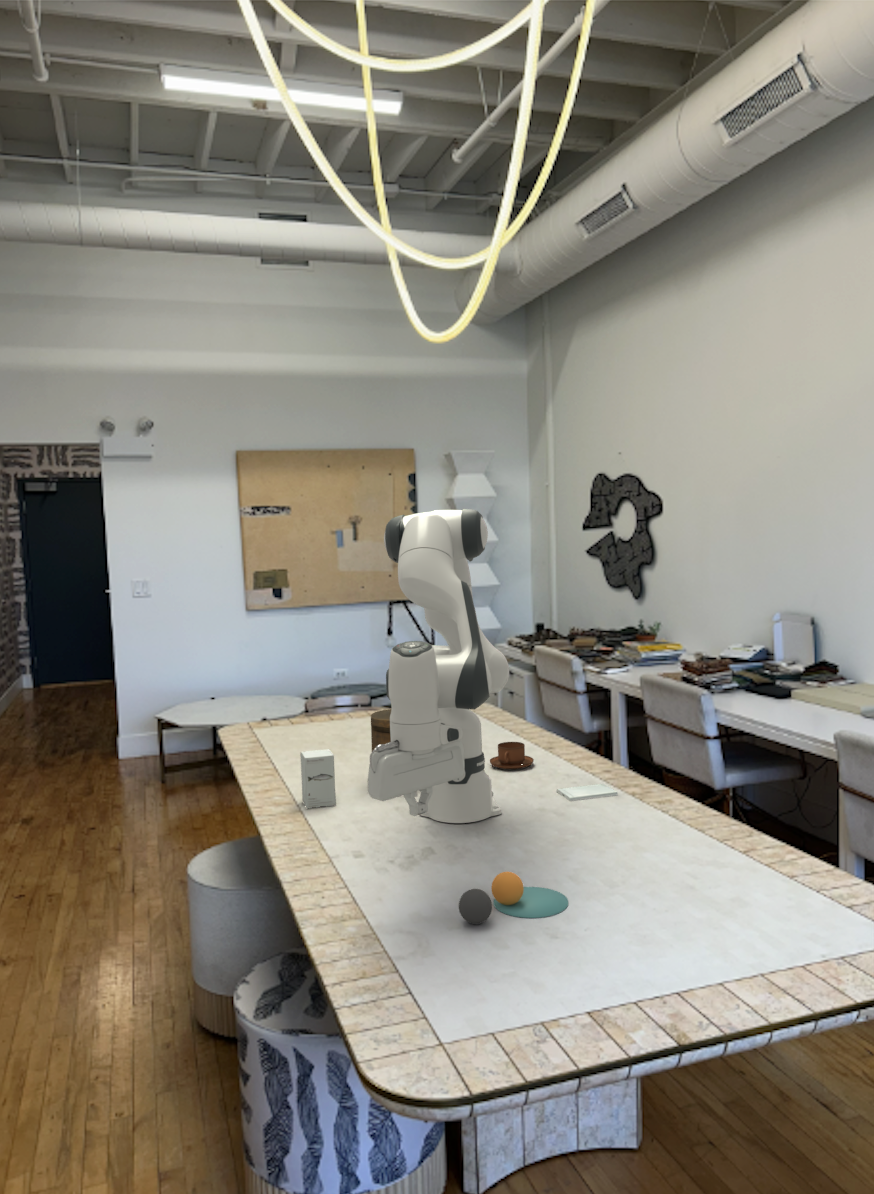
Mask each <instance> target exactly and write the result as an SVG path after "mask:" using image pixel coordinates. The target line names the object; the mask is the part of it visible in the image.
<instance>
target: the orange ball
mask: <svg viewBox="0 0 874 1194" xmlns="http://www.w3.org/2000/svg"><path fill="white" fill-rule="evenodd" d="M524 887H525V886H524V883H523V881H522V879H521V877H520V876H519V875H518V874H516V873H515V872H512V871H503V872H500V873H498V874H497V875H496V876H494V878H493V880H492V882H491V893H492V896H493V899H496V900H497V901H498V902H499V903H501V904H503V905H512V904H515V903H517V902H518V901H519V900H520V899H521V897H522V895H523V891H524Z"/></svg>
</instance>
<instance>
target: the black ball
mask: <svg viewBox="0 0 874 1194" xmlns="http://www.w3.org/2000/svg"><path fill="white" fill-rule="evenodd" d="M492 911H493V902H492V898H491V896H489V894H488V893H487V892H486V891H484V889H480V888H470V889H468V890H466V891H465V892H463V894H462V895H461V897H460V898H459V901H458V912H459V914H460V916H461V918H462V919H463V920H464V921H466V922H467V923H469V924H471V925H472V924H473V925H480V924H483V923H484V922H486V921H487V920H488V919H489V917H490V916H491V914H492Z"/></svg>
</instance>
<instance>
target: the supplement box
mask: <svg viewBox="0 0 874 1194" xmlns="http://www.w3.org/2000/svg"><path fill="white" fill-rule="evenodd" d="M299 753H300V755H299V756H300V774H301V775H300V776H301V777H300V778H301V794H302V795H301V796H302V802H304V803H303V804H305V805H304V806H306V807H305V809H306V808H309V809H313V808H312V807H316V808H321V807H320V806H326V807H334V806H333V805H335V806H337V801H336V800H337V798H336V797H337V795H336V782H335V781H336V778H335V777H336V776H335V775H336V774H335V755H334V753H333V752H332V751H331V749H329V748H327V749H315V750H303V751H300V752H299Z"/></svg>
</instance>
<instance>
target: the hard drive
mask: <svg viewBox="0 0 874 1194" xmlns="http://www.w3.org/2000/svg"><path fill="white" fill-rule="evenodd" d="M556 793H557V794H559V795H560V796H561V797H563V798H564V799H566V800H567V801H569V802H574V801H584V800H590V799H591V800H592V799H600V798H607V797H615V796H616V797H617V796H618V791H617V790H615V789H613V787H611V786H609V785H607V784H605V783H599V784H598V783H596V784H589V785H578V786H571V787H563V788H556Z"/></svg>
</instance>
